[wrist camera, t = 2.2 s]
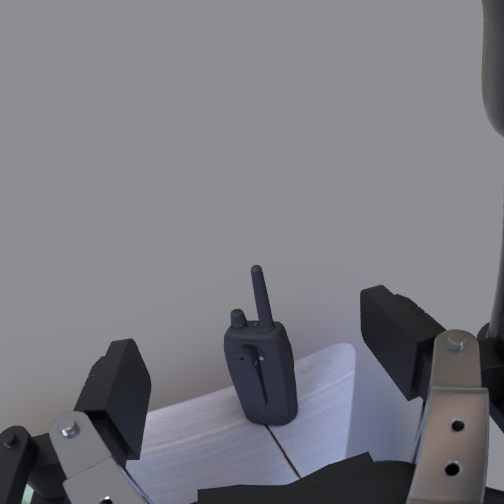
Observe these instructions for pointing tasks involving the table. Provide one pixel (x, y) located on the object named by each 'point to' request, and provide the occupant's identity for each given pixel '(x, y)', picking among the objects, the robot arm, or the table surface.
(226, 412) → the table surface
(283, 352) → the two-way radio
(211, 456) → the table surface
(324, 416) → the table surface
